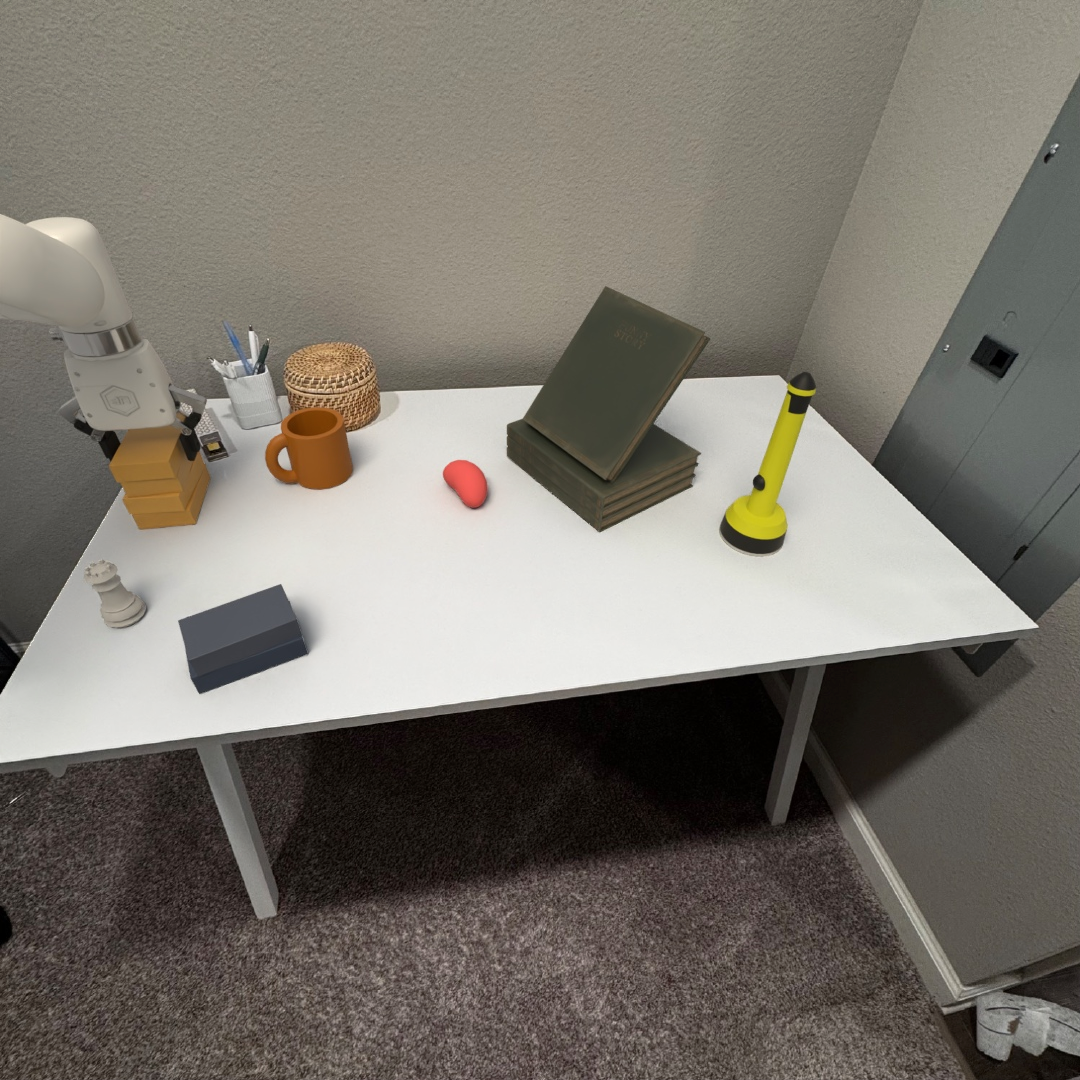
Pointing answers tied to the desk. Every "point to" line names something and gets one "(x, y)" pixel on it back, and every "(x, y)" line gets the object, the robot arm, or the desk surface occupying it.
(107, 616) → the rook chess piece
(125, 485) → the tan block stack
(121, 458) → the orange tan block
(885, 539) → the desk surface
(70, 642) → the desk surface
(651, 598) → the desk surface
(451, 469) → the red kidney bean
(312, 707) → the desk surface
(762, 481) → the flashlight
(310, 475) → the mug
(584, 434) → the olive book stack
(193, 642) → the slate books
